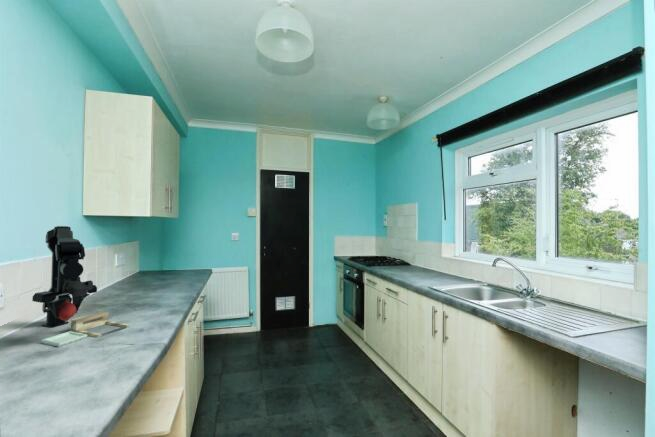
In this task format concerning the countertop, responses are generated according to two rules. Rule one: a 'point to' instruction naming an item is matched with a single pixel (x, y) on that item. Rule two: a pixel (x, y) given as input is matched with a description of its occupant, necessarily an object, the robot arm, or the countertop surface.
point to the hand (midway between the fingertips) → (66, 315)
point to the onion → (66, 310)
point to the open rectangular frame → (94, 323)
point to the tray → (64, 338)
